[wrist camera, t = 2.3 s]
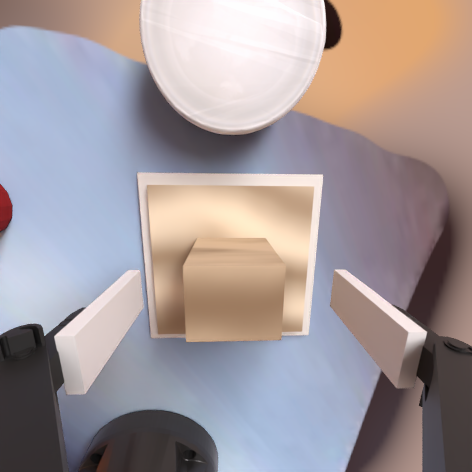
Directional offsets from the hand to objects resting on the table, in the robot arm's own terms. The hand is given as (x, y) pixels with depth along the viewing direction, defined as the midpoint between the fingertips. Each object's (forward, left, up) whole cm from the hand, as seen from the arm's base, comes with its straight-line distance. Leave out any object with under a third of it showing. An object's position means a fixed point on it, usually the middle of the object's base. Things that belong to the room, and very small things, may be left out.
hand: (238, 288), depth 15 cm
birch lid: (0, 0, -6) cm, 6 cm away
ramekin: (+16, 0, -7) cm, 17 cm away
